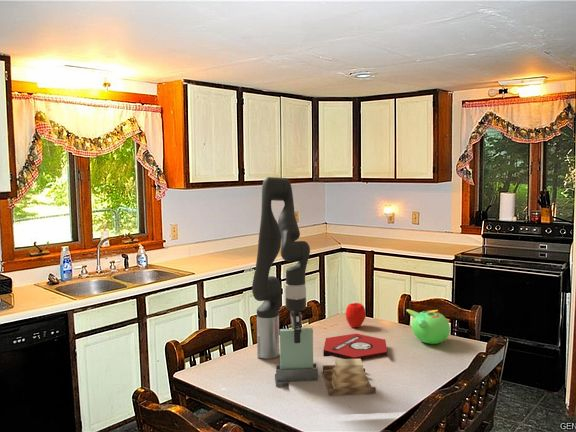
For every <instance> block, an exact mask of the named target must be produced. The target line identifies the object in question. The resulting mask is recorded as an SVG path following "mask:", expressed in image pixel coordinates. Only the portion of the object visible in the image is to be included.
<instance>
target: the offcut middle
mask: <svg viewBox="0 0 576 432" xmlns="http://www.w3.org/2000/svg"><path fill="white" fill-rule="evenodd" d="M333 377H334V379H335V380H336V382H337V383H338V384H340V383H353V382H365V381H366V377H367V375H366V371H365V372H364V370H363V373H361V374H337V372H336V368H333Z"/></svg>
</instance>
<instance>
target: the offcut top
mask: <svg viewBox="0 0 576 432" xmlns="http://www.w3.org/2000/svg"><path fill="white" fill-rule="evenodd" d="M334 360H335V362H334V365H335V368H336V372H337V374H361V373H363V368H364V364H363V362H362V361H363V360H361V359H342V358H335V359H334Z"/></svg>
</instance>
